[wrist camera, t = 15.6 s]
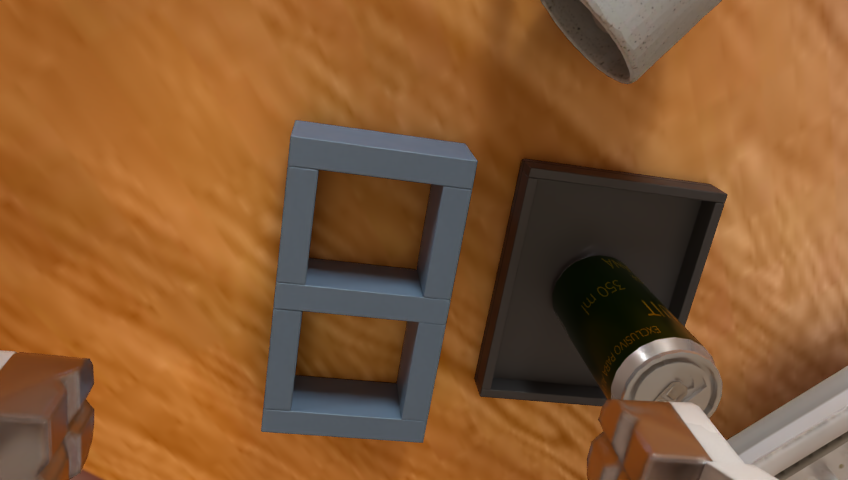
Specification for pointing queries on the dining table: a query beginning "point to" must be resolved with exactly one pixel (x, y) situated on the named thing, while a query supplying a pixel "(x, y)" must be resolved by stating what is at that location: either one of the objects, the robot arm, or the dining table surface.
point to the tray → (573, 239)
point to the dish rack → (802, 435)
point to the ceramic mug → (626, 30)
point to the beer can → (632, 337)
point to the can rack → (365, 285)
